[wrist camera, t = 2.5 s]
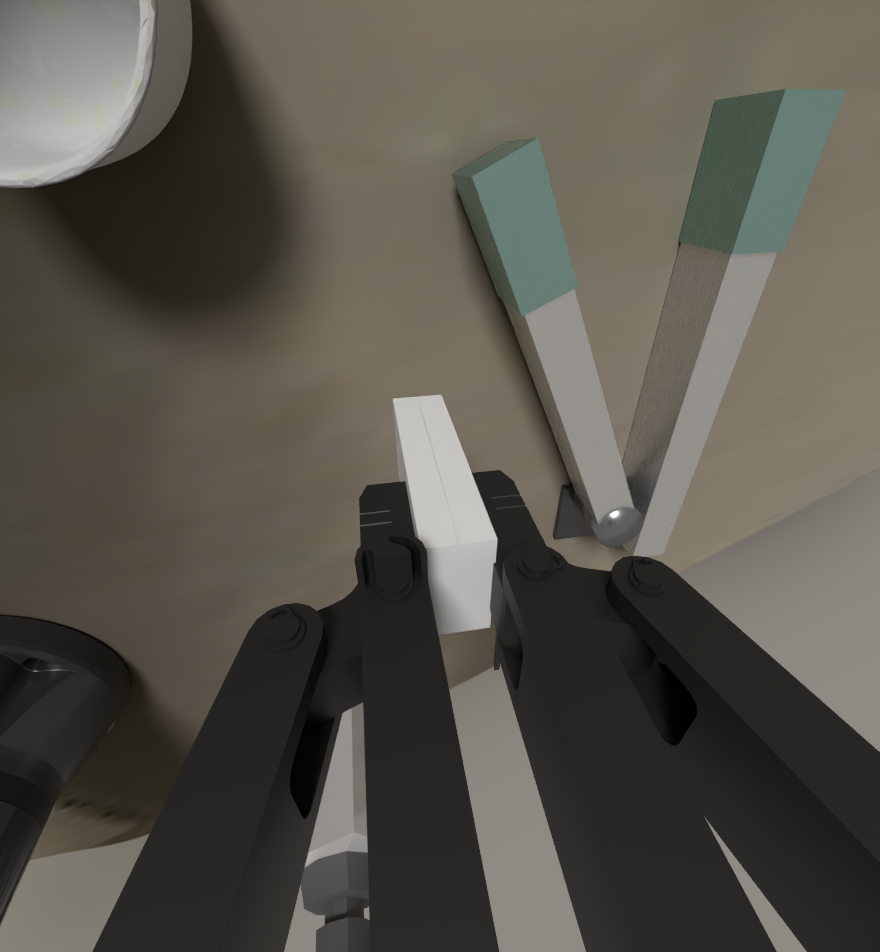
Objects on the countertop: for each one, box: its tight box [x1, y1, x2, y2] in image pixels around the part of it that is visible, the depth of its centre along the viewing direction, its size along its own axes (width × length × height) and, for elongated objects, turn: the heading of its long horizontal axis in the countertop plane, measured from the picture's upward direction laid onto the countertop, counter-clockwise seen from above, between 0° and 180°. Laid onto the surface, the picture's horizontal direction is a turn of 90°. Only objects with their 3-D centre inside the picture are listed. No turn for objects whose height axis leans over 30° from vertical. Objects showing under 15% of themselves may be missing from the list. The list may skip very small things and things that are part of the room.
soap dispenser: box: [301, 703, 371, 952], centre depth 32 cm, size 6×9×22 cm
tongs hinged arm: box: [452, 138, 644, 547], centre depth 26 cm, size 3×24×4 cm, turn 26°
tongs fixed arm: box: [553, 89, 846, 557], centre depth 27 cm, size 8×27×4 cm, turn 1°
